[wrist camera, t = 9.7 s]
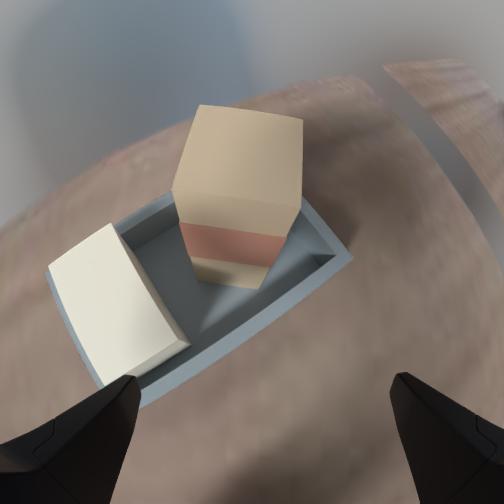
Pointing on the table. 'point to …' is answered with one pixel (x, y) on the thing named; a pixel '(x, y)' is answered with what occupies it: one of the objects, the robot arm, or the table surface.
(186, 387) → the table surface
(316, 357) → the table surface
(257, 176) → the oat carton
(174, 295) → the tote
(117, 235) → the cream rectangular block
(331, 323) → the table surface
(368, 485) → the table surface
